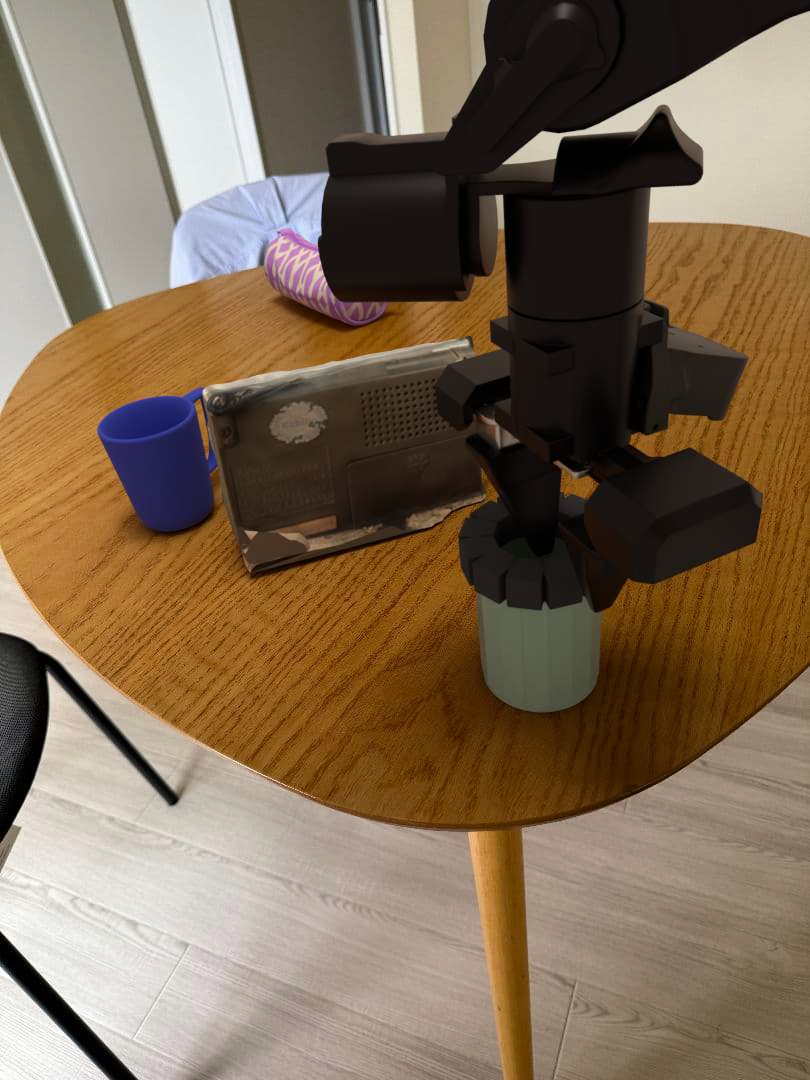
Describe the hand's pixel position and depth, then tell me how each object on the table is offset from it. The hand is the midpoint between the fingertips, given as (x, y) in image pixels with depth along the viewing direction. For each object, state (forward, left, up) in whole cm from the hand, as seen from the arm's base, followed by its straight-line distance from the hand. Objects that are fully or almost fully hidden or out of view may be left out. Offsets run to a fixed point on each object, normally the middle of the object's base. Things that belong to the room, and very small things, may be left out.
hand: (571, 579), depth 42 cm
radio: (+9, -25, -10) cm, 29 cm away
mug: (+24, -33, -10) cm, 42 cm away
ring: (+1, -3, -1) cm, 4 cm away
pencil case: (+5, -79, -10) cm, 80 cm away
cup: (+1, -3, -10) cm, 10 cm away
